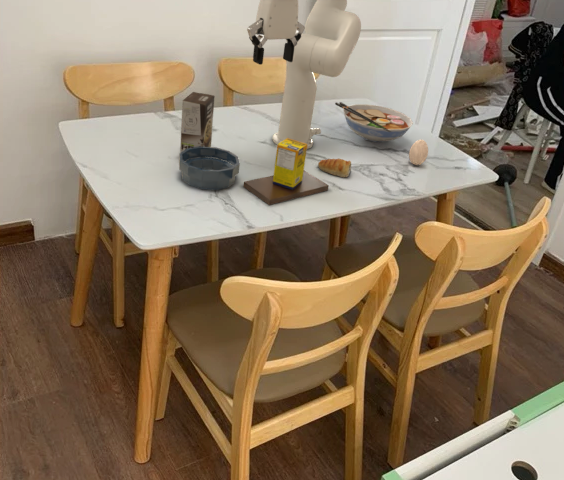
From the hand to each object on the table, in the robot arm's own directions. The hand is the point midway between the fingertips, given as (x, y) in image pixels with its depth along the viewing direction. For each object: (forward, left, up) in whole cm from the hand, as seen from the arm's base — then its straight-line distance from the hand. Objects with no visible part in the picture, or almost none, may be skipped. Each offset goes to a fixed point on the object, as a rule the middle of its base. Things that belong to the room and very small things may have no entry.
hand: (272, 61), depth 153 cm
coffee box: (+13, -13, -28) cm, 34 cm away
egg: (-46, +18, -28) cm, 57 cm away
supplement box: (+2, +15, -27) cm, 31 cm away
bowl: (+18, +1, -28) cm, 34 cm away
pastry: (-18, +12, -28) cm, 36 cm away
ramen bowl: (-49, -3, -28) cm, 57 cm away
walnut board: (+2, +15, -28) cm, 32 cm away
